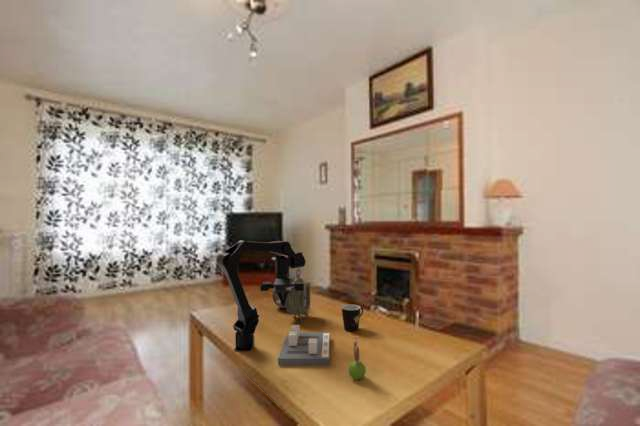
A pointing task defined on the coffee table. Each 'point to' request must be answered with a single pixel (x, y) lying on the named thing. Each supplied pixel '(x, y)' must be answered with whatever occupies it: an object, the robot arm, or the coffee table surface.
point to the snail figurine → (356, 364)
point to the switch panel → (305, 351)
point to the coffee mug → (351, 317)
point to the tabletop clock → (298, 299)
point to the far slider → (296, 329)
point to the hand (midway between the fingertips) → (283, 305)
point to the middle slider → (293, 338)
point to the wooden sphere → (277, 300)
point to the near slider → (312, 345)
